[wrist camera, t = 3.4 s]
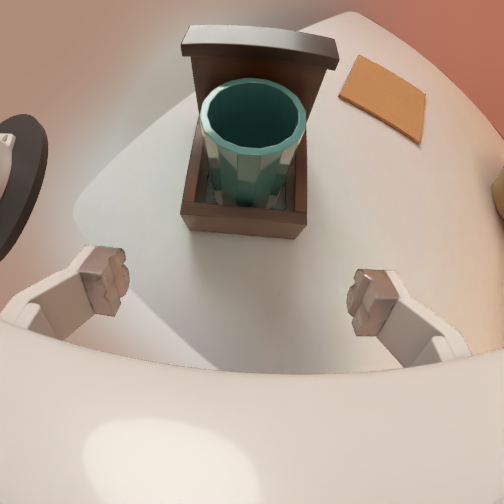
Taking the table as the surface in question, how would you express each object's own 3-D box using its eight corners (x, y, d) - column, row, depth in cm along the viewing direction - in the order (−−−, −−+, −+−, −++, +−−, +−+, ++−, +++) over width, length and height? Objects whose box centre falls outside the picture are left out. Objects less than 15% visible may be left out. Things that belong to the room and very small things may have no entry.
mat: (338, 96, 29) (339, 94, 29) (357, 56, 31) (358, 54, 31) (418, 144, 29) (420, 142, 28) (424, 95, 31) (425, 94, 31)
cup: (199, 199, 25) (179, 129, 14) (232, 148, 27) (232, 67, 16) (261, 229, 25) (280, 173, 14) (290, 174, 26) (320, 101, 16)
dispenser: (299, 239, 25) (358, 174, 12) (184, 230, 25) (139, 155, 12) (300, 133, 27) (334, 38, 14) (202, 125, 27) (189, 25, 14)
